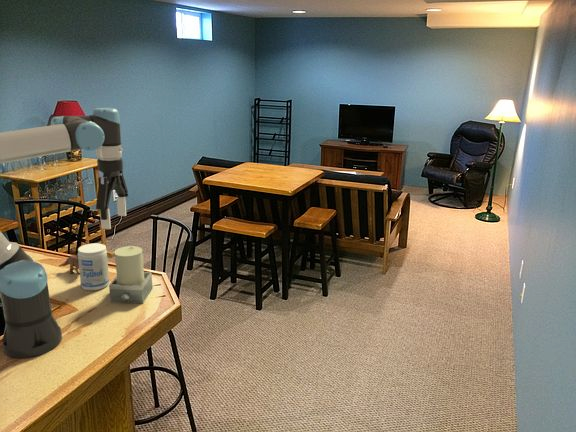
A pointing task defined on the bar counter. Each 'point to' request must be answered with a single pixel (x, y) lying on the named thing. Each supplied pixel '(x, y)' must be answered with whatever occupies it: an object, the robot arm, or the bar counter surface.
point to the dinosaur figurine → (72, 263)
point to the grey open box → (131, 291)
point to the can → (129, 265)
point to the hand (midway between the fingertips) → (114, 221)
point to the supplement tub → (93, 266)
